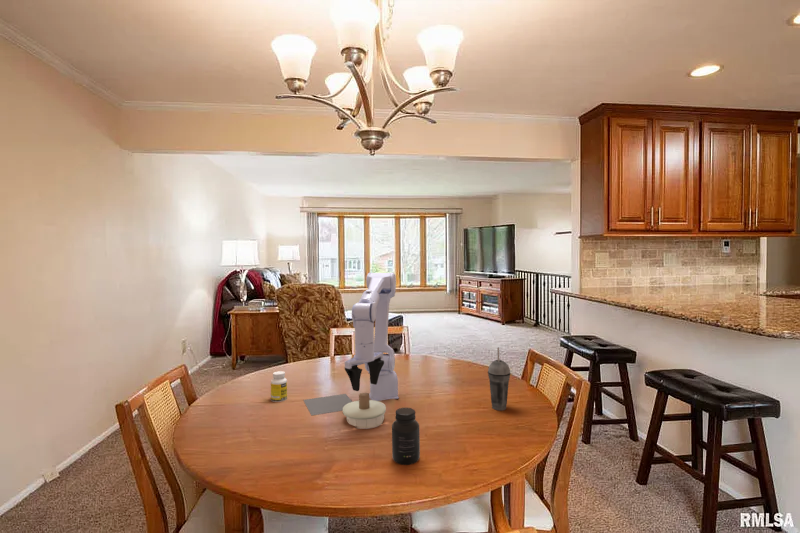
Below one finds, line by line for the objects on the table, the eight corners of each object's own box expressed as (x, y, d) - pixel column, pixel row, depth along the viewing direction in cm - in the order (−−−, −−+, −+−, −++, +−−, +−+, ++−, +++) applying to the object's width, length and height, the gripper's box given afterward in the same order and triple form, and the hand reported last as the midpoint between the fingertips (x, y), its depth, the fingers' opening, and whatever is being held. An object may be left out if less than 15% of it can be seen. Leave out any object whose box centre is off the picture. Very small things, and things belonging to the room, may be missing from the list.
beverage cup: (512, 405, 135) (512, 345, 135) (508, 413, 129) (508, 350, 128) (490, 402, 138) (490, 343, 138) (485, 410, 132) (485, 348, 131)
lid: (364, 400, 134) (364, 384, 134) (394, 409, 125) (394, 393, 125) (333, 411, 124) (333, 395, 124) (363, 423, 115) (363, 405, 115)
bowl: (376, 411, 132) (376, 402, 131) (389, 424, 121) (388, 414, 121) (343, 417, 127) (342, 407, 127) (353, 431, 117) (353, 420, 117)
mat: (345, 395, 147) (345, 393, 147) (357, 409, 133) (357, 407, 133) (303, 401, 141) (303, 399, 141) (311, 417, 128) (311, 415, 127)
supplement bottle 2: (391, 452, 104) (390, 406, 104) (418, 451, 105) (417, 405, 105) (393, 466, 97) (392, 416, 97) (421, 465, 98) (421, 415, 98)
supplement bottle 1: (282, 404, 139) (282, 375, 139) (268, 403, 140) (267, 374, 140) (290, 398, 145) (289, 370, 144) (275, 397, 146) (275, 370, 145)
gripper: (371, 336, 132) (372, 378, 132) (337, 344, 121) (338, 390, 121) (388, 339, 127) (388, 383, 128) (353, 348, 116) (354, 395, 117)
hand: (365, 387), depth 124 cm, fingers open, 7 cm apart
